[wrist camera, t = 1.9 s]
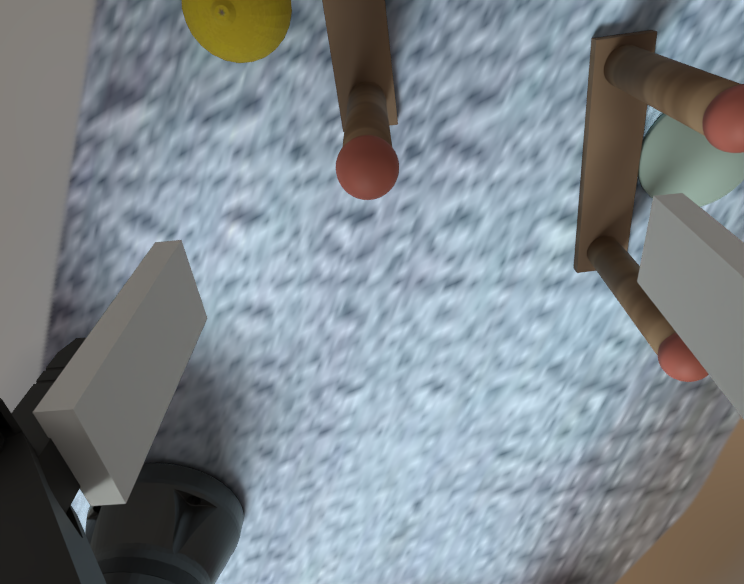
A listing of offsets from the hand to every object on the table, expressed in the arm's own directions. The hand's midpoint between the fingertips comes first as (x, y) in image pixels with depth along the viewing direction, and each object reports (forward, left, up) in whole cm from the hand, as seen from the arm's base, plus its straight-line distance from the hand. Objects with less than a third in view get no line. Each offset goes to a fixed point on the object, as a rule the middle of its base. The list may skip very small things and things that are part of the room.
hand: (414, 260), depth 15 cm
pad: (+21, -7, -23) cm, 32 cm away
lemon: (-7, +6, -23) cm, 25 cm away
